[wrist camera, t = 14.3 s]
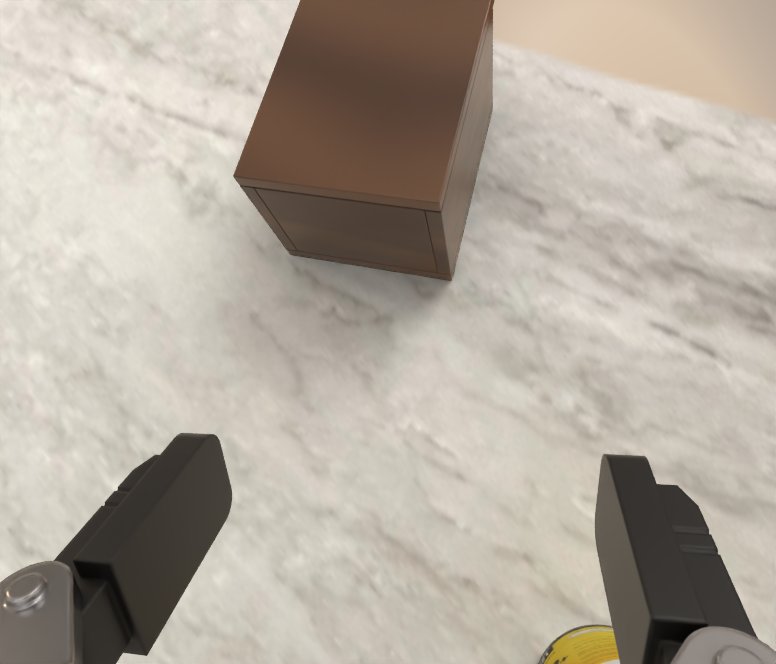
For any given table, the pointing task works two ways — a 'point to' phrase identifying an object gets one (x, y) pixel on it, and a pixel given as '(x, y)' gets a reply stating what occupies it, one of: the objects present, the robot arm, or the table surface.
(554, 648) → the pill bottle
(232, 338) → the table surface
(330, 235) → the box
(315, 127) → the lid
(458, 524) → the table surface
